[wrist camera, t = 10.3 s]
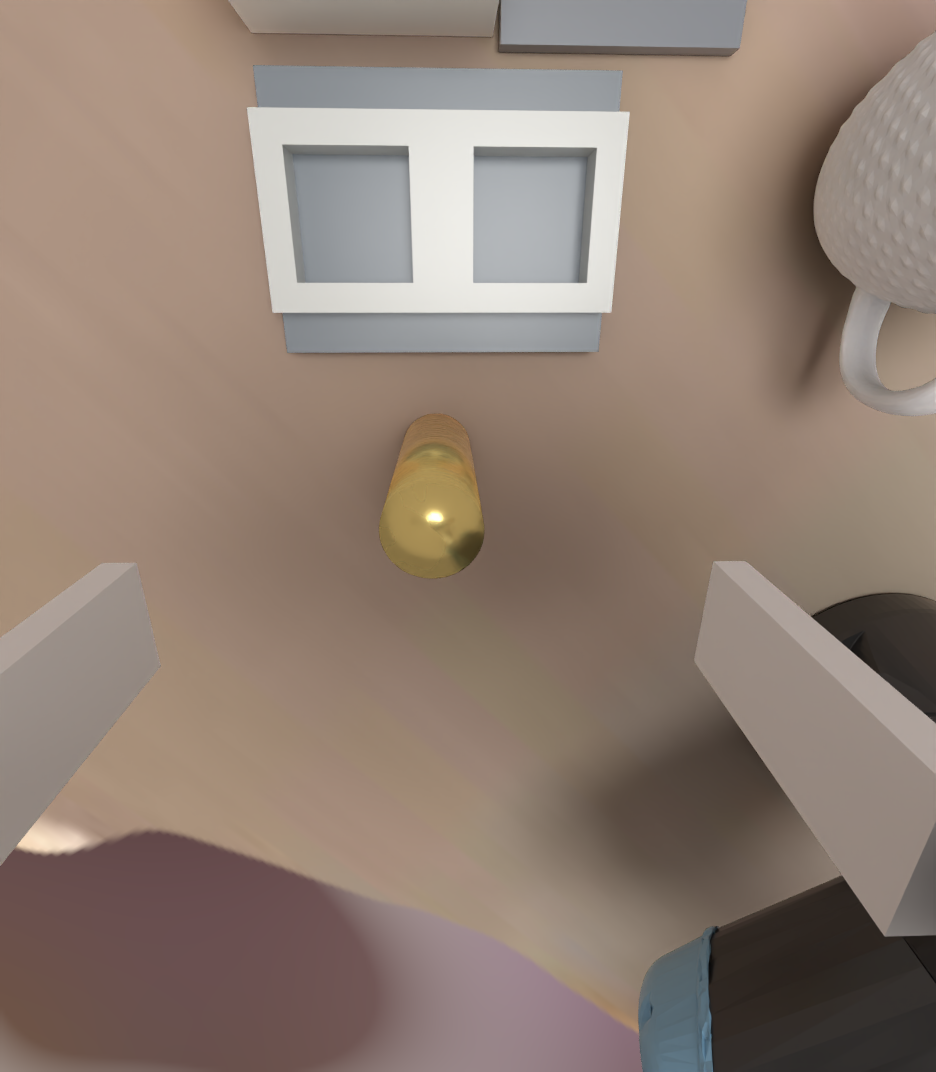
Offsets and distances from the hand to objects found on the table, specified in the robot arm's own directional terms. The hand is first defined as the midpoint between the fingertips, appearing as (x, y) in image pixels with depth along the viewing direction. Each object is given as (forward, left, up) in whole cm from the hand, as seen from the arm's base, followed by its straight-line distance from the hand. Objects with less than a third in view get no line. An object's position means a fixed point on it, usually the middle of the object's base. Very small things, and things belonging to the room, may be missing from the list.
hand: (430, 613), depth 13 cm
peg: (-1, 0, -18) cm, 18 cm away
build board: (+10, 0, -18) cm, 21 cm away
